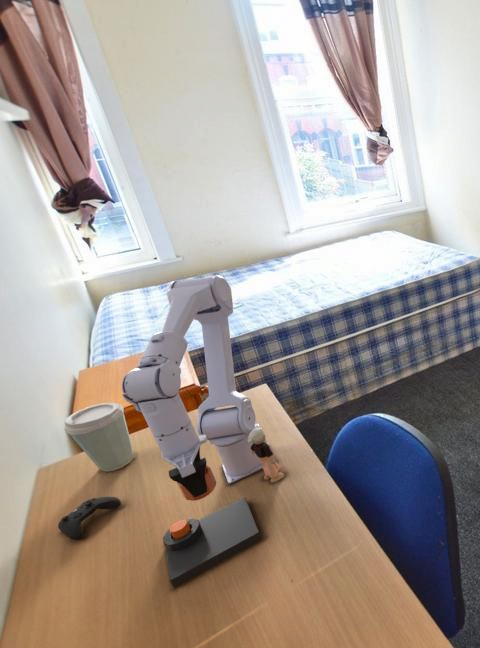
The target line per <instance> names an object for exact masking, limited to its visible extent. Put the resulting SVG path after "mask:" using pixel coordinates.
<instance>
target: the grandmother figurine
mask: <svg viewBox="0 0 480 648" xmlns="http://www.w3.org/2000/svg"><path fill="white" fill-rule="evenodd" d="M266 438H267V437H266V434H265V433H264V430H263V428H262V427H261V428H255V429H254V430H252V431H251V433H250V434H249V437H248V442H249V443H251V442H253V444H252V446H251V450H252V454H256V455H257V456H258V457H259V459H260V461H261V464H262V467H263V468H262V470H263V472H264V476H263V479H264V480H266V481H267V480H270V482H271V483H275V482H278V481H279V480H282V479H283V478H284V477H285V474H284V473H283V472H282V471H281V472H280V466H279V464H278V462H277V459H276V458H275V456H274V453H273V451H272V449H271V447H269V446H270V444H269V443H268V442H267V443H268V444H269V445H268V444H267V443H265V442H264V441H265V439H266ZM270 449H271V450H270Z"/></svg>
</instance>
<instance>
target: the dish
mask: <svg viewBox="0 0 480 648" xmlns="http://www.w3.org/2000/svg"><path fill="white" fill-rule="evenodd" d="M205 479H206V484H207V492H206V493H204V494H202V495H200V496H197V497H194V496H193V495H191V494H190V492H189V491H188V490H187V489H186V488H185V487H184V486H183V485H181V484H180V483H178V482H176V484H177V486H178V488H179V490H180V493H181V495H182V497H183V498H184V499H185V500H186V501H193V502H194V501H195V502H196V501H199V500H202V499H204V498H206V497H208V496H209V495H210V494H211V493H213V491H214V490H215V488H216V487H217V479H216V478H215V475H214V472H213V471H212V469H211V467H210V466H208V465H207V464H206V468H205Z"/></svg>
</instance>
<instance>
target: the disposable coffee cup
mask: <svg viewBox="0 0 480 648" xmlns="http://www.w3.org/2000/svg"><path fill="white" fill-rule="evenodd" d="M124 411H125V410H124V407H123V405H122V404H120V403H116V402H112V401H110V402H109V401H108V402H101V403H97V404H93V405H90V406H87V407H84V408H82V409H80V410H77V411H75V412H73V413H71V415H69V416H67V417H66V418H65V422H64V428H63V429H64V431H65V432H64V433H66V434H69V436H70V437H71V438H72V440H74V441H75V443H76V444H77V446H79V447H80V448H81V449H82V451H83V452H84V453H85V454H86V456H87V457H88V458H89V459H90V460H91V461H92V462H93V464H94V465H95V466H96V467H97V469H99V470H101V471H103V472H106V473H107V472H114V471H117V470H119V469H122V468H124V467H125V466H127V465H128V464H130V463H131V461H133V459H134V449H133V444H132V441H131V437H130V433H129V429H128V424H127V421H126V417H125V413H124Z"/></svg>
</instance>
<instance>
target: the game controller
mask: <svg viewBox="0 0 480 648" xmlns="http://www.w3.org/2000/svg"><path fill="white" fill-rule="evenodd" d="M121 505H122V501H121V500H120V498H118V497H116V496H100V497H94V498H89V499H87V500H85V501H83V502H82V503H81V504H80V505H79V506H77V507H76V508H75V509H73V510H72V511H70V513H68V514H67V515H64V516H63V517H61V519H60V520H59V522H58V525H57V528H58V530H59V532H61V533H62V534H63V535H64V536H65V537H67V538H68V539H70V540H73V541H78V540H81V539H83V537H84V531H83V528H82V527H83V526H82V523H83V522H84V521H85V520H86V519H88V518H89V517H90V516H91V515H93V514H94V513H95V512H96V511H98V510H116V509H118V508H120V507H121Z"/></svg>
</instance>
